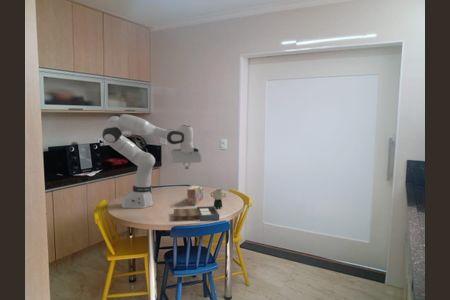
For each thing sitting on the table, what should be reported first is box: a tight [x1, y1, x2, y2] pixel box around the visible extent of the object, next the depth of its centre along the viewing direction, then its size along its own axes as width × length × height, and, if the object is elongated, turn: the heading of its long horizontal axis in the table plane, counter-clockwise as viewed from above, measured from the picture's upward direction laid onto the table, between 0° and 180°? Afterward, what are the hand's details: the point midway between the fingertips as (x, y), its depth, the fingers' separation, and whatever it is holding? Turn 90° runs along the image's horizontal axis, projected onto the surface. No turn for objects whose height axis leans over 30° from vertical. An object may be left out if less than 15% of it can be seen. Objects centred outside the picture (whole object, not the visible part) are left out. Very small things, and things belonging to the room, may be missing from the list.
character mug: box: [210, 188, 227, 209], centre depth 223 cm, size 11×7×13 cm, turn 92°
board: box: [173, 207, 200, 222], centre depth 202 cm, size 16×15×3 cm
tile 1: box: [199, 208, 209, 215], centre depth 208 cm, size 6×6×2 cm
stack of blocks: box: [186, 185, 204, 207], centre depth 238 cm, size 21×6×12 cm, turn 169°
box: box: [196, 205, 220, 222], centre depth 205 cm, size 12×19×3 cm, turn 12°
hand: (186, 169), depth 213 cm, fingers closed
